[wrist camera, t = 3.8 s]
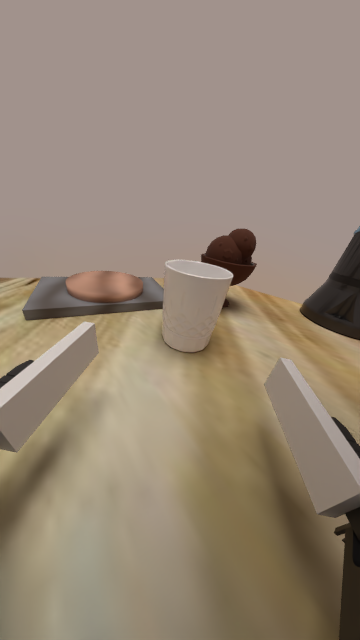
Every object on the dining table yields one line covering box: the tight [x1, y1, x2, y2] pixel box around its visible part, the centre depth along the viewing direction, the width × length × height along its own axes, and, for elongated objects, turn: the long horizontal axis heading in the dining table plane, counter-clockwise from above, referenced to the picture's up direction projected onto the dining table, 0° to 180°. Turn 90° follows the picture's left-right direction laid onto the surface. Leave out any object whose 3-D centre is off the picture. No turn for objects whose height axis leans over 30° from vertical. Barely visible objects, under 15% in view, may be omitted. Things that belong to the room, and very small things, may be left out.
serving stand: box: [22, 271, 164, 320], centre depth 31 cm, size 22×14×3 cm, turn 117°
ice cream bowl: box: [201, 229, 257, 307], centre depth 34 cm, size 11×11×15 cm
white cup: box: [162, 260, 233, 352], centre depth 21 cm, size 8×8×10 cm
